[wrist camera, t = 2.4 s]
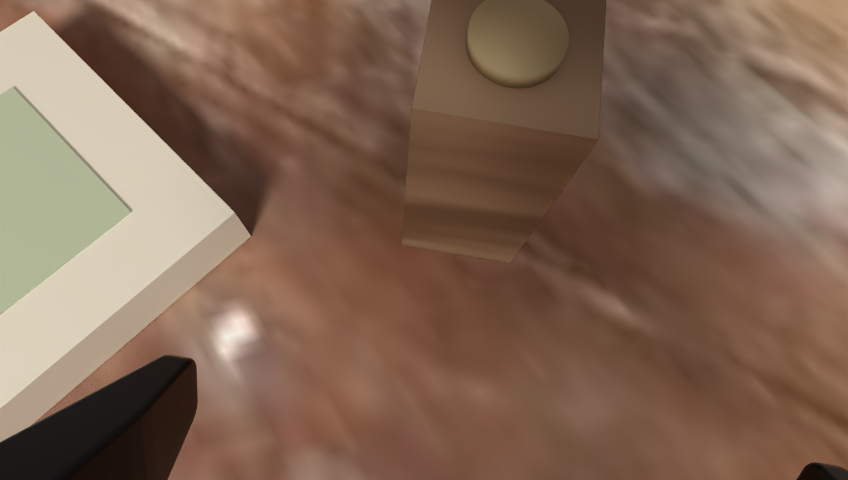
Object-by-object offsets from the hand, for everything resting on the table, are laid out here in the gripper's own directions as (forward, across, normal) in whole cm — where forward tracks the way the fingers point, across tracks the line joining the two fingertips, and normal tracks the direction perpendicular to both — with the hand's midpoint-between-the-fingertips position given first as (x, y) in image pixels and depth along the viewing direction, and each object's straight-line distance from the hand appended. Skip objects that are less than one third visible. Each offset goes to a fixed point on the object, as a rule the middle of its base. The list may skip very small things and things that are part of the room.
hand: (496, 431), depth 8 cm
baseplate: (+12, +16, +6) cm, 21 cm away
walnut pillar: (+15, 0, +3) cm, 16 cm away
